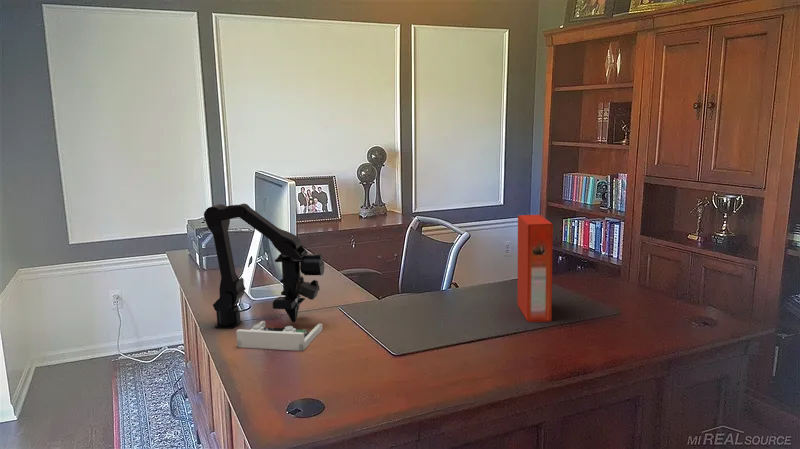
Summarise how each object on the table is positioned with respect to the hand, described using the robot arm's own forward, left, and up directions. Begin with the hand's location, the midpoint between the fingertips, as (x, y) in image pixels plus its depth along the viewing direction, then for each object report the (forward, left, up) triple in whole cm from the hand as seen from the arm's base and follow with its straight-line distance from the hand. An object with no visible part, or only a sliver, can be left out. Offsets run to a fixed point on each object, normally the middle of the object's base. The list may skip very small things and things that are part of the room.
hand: (294, 321), depth 192 cm
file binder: (+76, +23, -2) cm, 79 cm away
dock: (0, -11, -2) cm, 11 cm away
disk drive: (0, -13, -2) cm, 13 cm away
